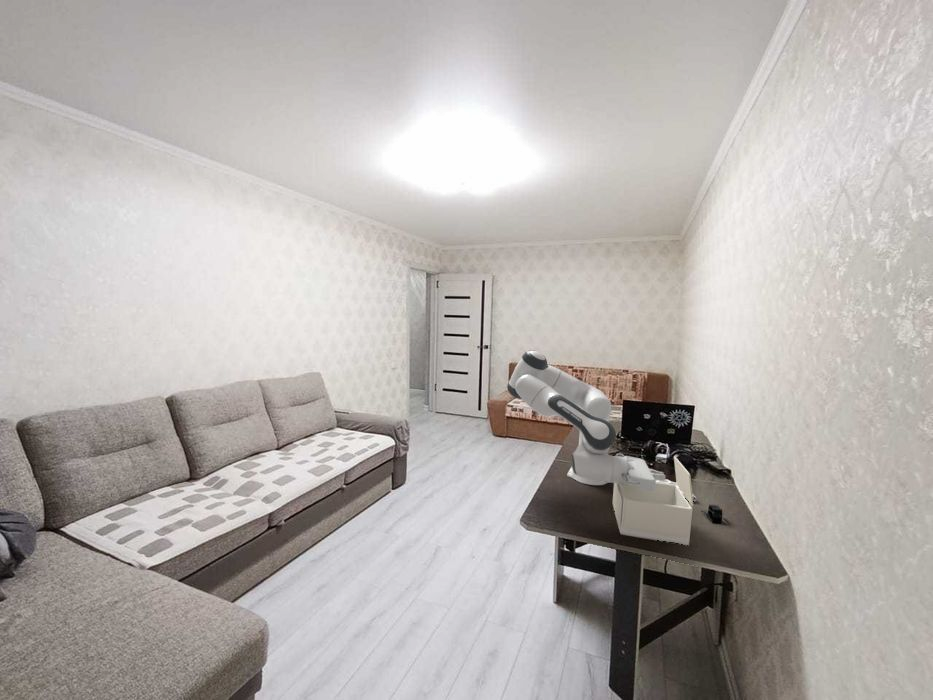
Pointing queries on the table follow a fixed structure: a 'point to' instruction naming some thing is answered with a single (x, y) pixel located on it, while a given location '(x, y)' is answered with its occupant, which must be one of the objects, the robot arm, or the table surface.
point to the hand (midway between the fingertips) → (664, 476)
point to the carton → (653, 512)
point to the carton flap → (683, 480)
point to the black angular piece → (715, 515)
